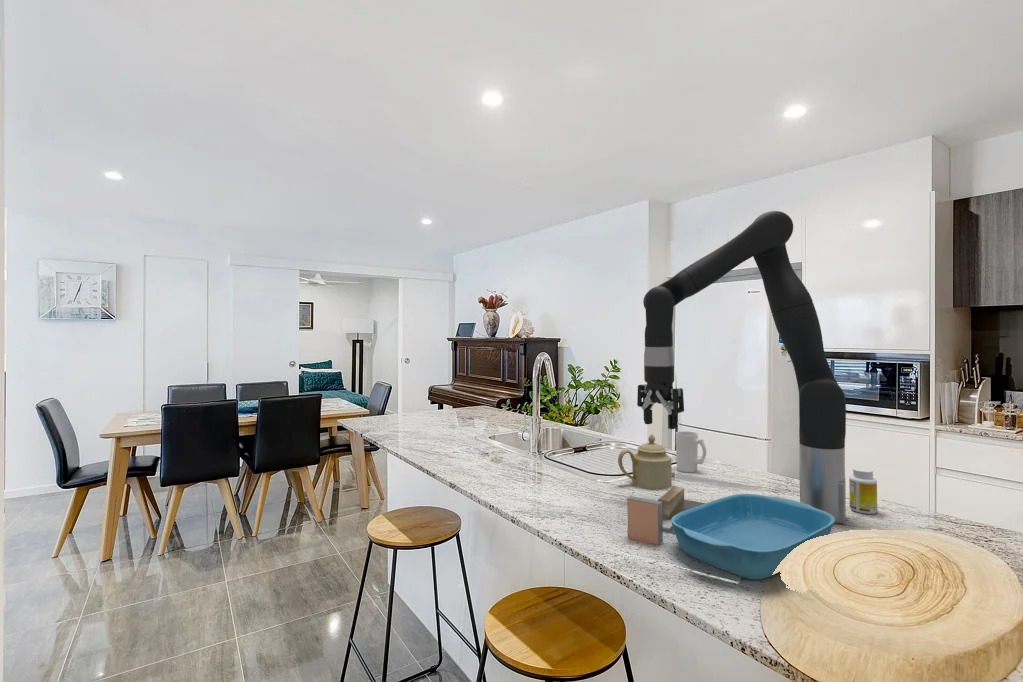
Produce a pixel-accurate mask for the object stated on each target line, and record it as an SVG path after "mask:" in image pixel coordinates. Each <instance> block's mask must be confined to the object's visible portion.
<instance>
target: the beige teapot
mask: <svg viewBox="0 0 1023 682" xmlns="http://www.w3.org/2000/svg"><path fill="white" fill-rule="evenodd" d="M647 440H648V442H647V443H643V444H641V445H640V446H639V447H637V448H636V449H637V450H638V451H637V453H635V454H634V452H632V450H629V449H623V450H622V451H620V452H619V454H618V457H617V463H618V467H619V469H620V470H621V472H622V473H623V474H624V475H625V476H626V477H627V478H629V479H630V480H631V481H632V484H633V485H634V486H635V487H638V488H640V489H646V490H656V491H657V490H666V489H669V488H672V487H671V486H672V479H673V478H672V477H673V476H672V470H673V469H672V457H671V456H669V455H668V454H667V453H666V452H667V448H665V447H664V446H662V445H661V444H659V443H656V442H655V441H656V438H655V435H653V434H652V433H651V434H650V435H649V436H648V439H647ZM626 454H629V456H630V460H631V464H632V465H631V466H632V475H631V474H630V473H628V472H627V471H626V470H625V468H624V464H623V458H624V455H626Z"/></svg>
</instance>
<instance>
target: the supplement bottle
mask: <svg viewBox="0 0 1023 682" xmlns="http://www.w3.org/2000/svg"><path fill="white" fill-rule="evenodd" d="M852 470H853V471H852V475H850V476H849V478H848V479H849V480H848V481H849V487H848V488H849V491H848V492H849V508H850V510H852V511H854V512H856V513H859V514H865V515H866V514H867V515H873V514H876V513H877V512H878V481H877V479H876V478H875V477H874V474H873V473H874V470H873V469H870V468H866V467H853V469H852Z"/></svg>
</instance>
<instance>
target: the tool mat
mask: <svg viewBox="0 0 1023 682" xmlns="http://www.w3.org/2000/svg"><path fill="white" fill-rule="evenodd" d="M706 503H707V502H700V501H696V500H691V499H690V500H689V499H685V498H684V508H683V509H682V510H681V511H680V512H683V511H685V510H688V509H691V508H694V507H697V506H700V505H703V504H706ZM680 512H679V513H680ZM663 533H665V534H671V535H674V536H676V534H675V531H674V527H673V528H672V529H671V530H670V531H665V530H663Z"/></svg>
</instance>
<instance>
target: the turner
mask: <svg viewBox="0 0 1023 682" xmlns="http://www.w3.org/2000/svg"><path fill="white" fill-rule="evenodd" d="M684 499H685V487H682V486H675V485H674V486H673V487H670V489H669V490H667V491H666V492H665V493H664V494H663V495H661V496H660V497H659V498H658V500H657V501H661V502H662V512H663V530H665V531H670V530H671V529H672V528H673V525H672V522H671V519H672V517H673V516H675V515H676V514H678V513H679V512H680V511H681V510H682V509H683V508H684Z"/></svg>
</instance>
